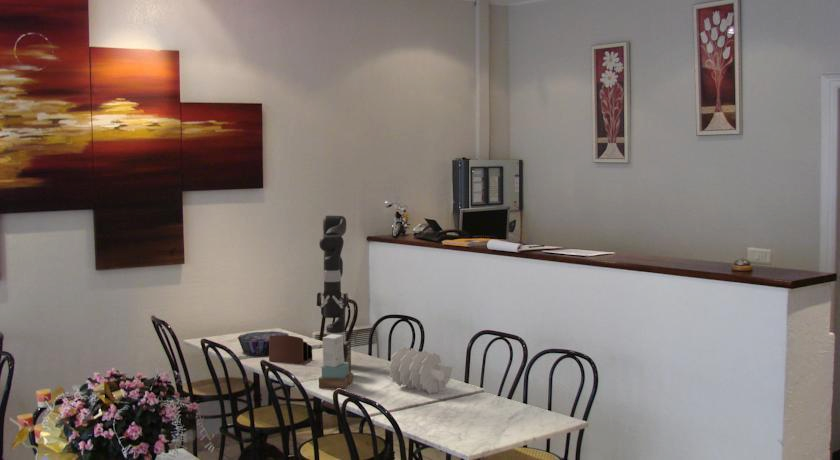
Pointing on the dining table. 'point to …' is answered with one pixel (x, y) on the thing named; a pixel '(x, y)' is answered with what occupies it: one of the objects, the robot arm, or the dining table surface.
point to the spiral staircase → (419, 370)
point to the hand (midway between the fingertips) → (332, 316)
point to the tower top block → (336, 371)
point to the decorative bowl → (257, 342)
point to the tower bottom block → (336, 382)
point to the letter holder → (289, 349)
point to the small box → (333, 350)
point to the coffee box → (347, 353)
